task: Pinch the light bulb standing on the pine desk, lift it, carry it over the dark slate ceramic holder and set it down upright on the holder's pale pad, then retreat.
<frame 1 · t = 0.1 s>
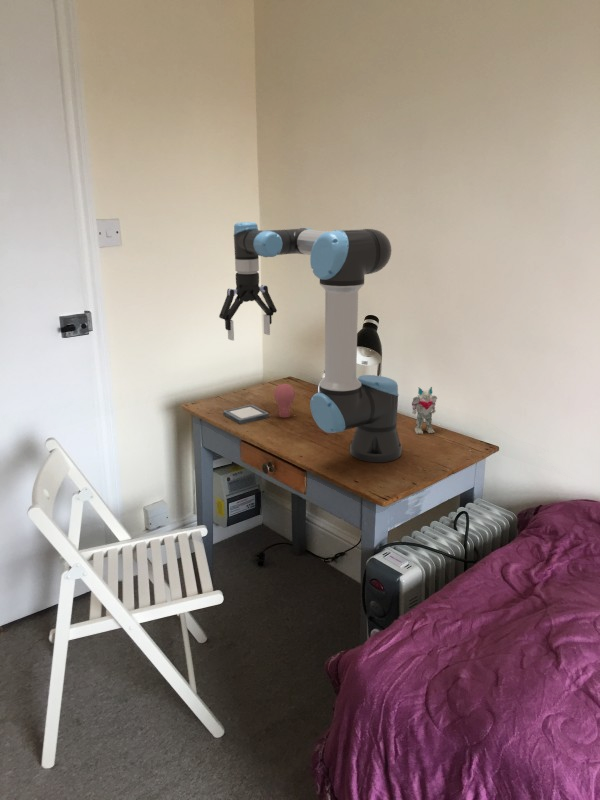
hand: (249, 337, 215), 28 cm above the table, fingers open, 13 cm apart
figurine: (423, 431, 210), on the table
light bulb: (284, 418, 223), on the table
holder: (246, 416, 224), on the table
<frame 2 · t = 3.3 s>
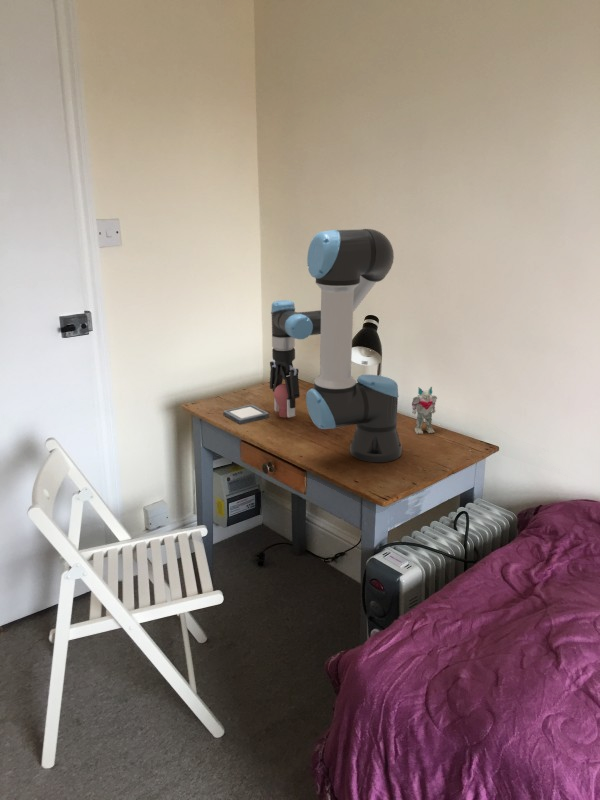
hand: (284, 413, 222), 2 cm above the table, fingers closed on light bulb, 7 cm apart
light bulb: (284, 418, 223), on the table, touching gripper
everything else where it was.
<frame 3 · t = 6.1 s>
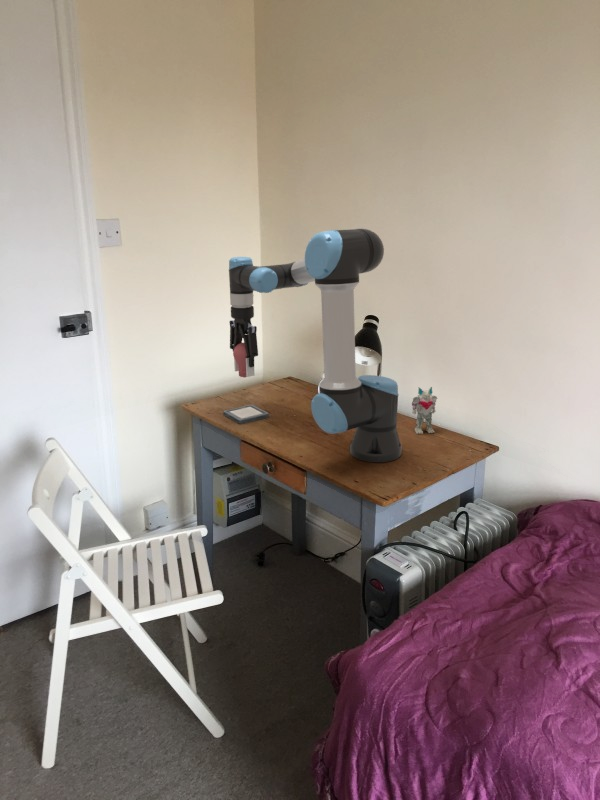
hand: (244, 373, 219), 15 cm above the table, fingers closed on light bulb, 7 cm apart
light bulb: (244, 378, 220), point 14 cm above the table, touching gripper
everything else where it was.
when the fingers open (4 cm above the table, at t = 8.8 s): light bulb stays where it is, resting on holder.
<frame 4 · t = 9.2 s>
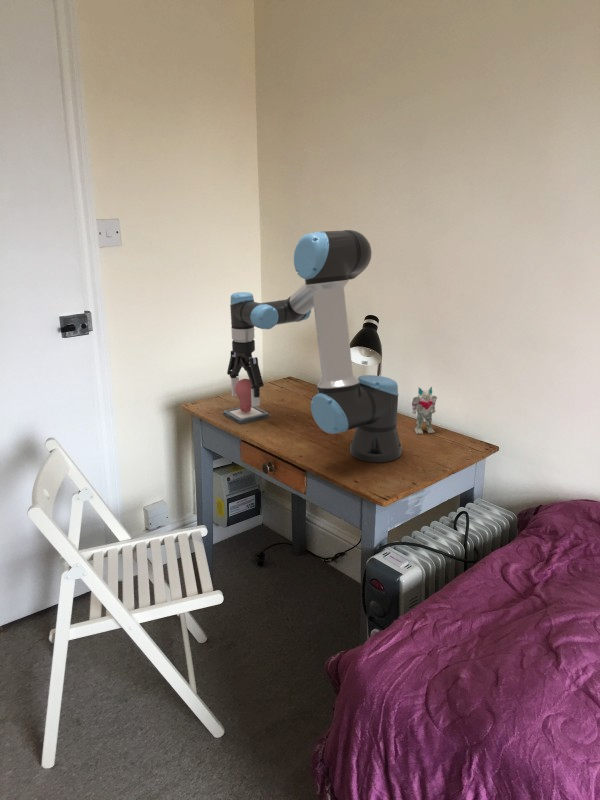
hand: (245, 400, 222), 6 cm above the table, fingers open, 13 cm apart
light bulb: (246, 412, 224), point 1 cm above the table, touching holder
everything else where it was.
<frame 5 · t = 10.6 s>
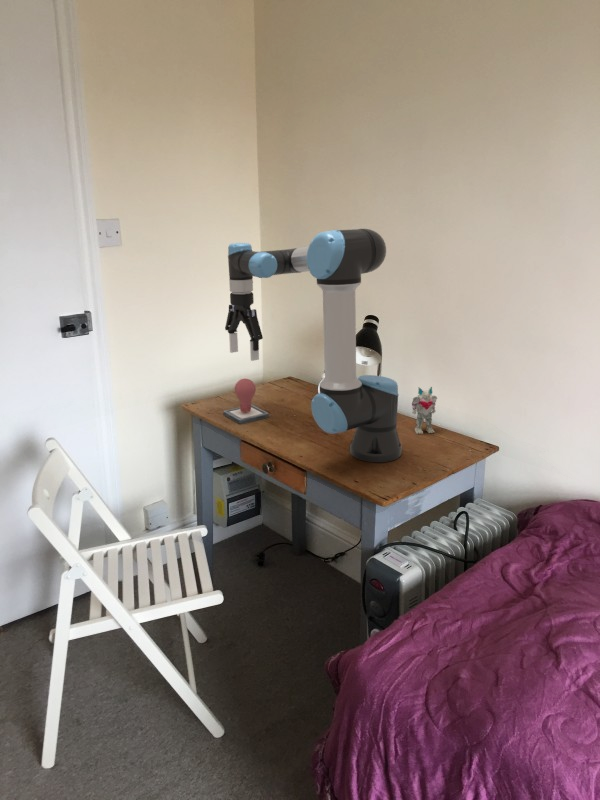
hand: (244, 356, 217), 21 cm above the table, fingers open, 13 cm apart
nothing on the table moved.
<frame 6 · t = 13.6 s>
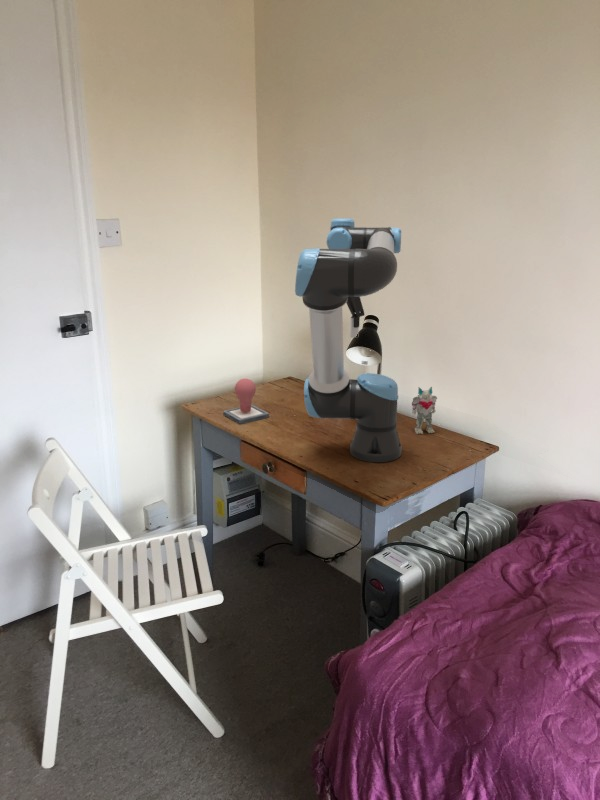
hand: (341, 333, 216), 29 cm above the table, fingers open, 13 cm apart
nothing on the table moved.
at the end: light bulb inside the target area on the holder (0.1 cm from its centre), point 1.2 cm above the holder's base; light bulb tilted 0°; the gripper is holding nothing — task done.
